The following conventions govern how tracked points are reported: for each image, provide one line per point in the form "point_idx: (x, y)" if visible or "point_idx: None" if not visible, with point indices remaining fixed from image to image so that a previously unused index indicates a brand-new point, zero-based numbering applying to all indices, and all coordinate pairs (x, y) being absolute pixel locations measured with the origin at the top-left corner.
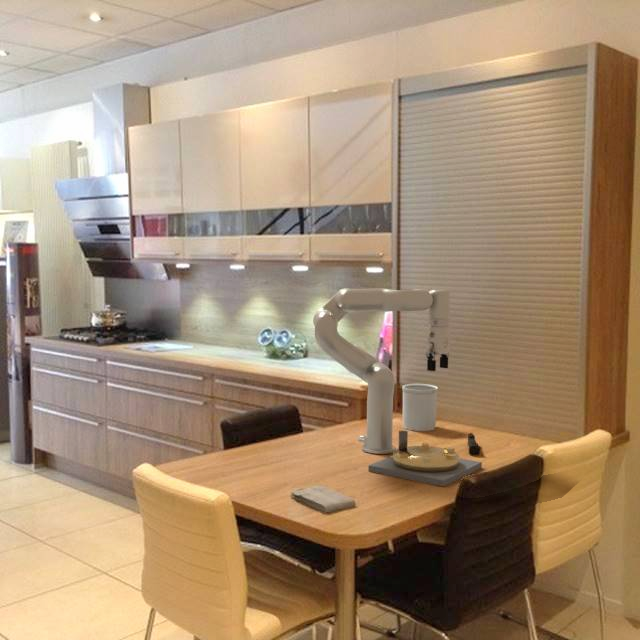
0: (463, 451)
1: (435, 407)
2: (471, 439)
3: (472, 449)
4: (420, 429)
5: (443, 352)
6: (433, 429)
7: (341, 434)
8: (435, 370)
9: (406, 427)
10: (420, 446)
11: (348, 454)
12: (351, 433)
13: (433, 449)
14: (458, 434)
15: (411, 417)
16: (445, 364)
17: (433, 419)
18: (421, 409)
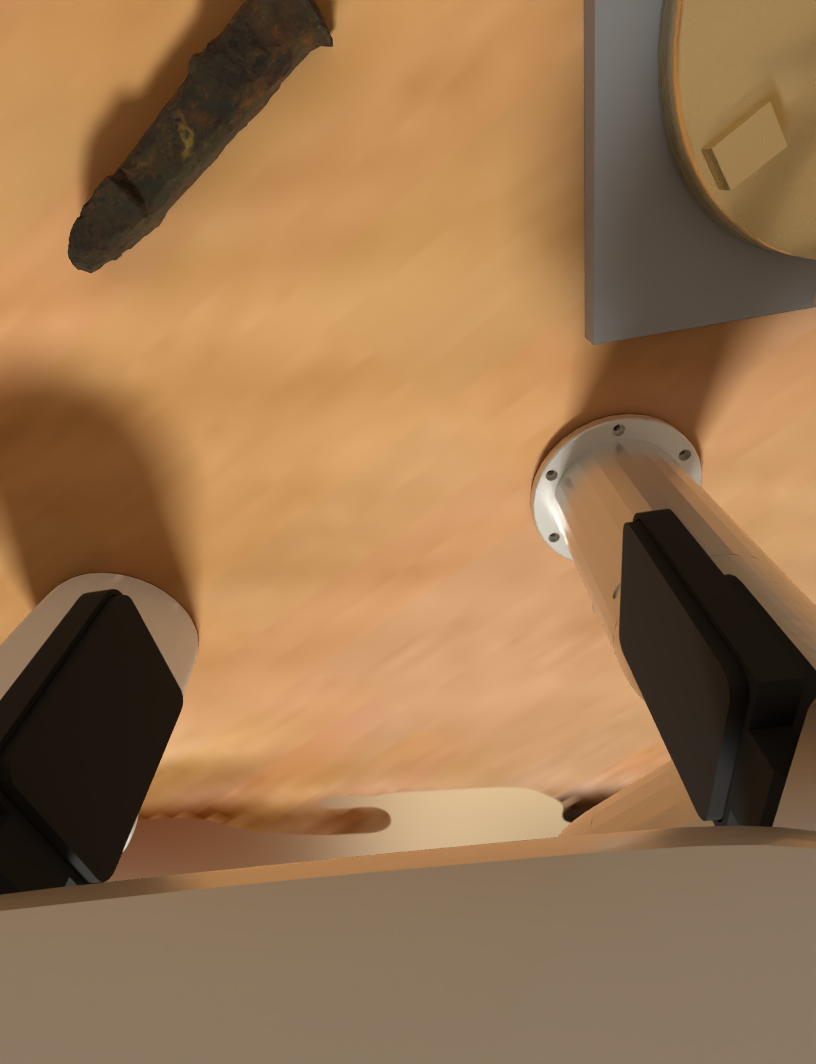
0: (286, 151)
1: (11, 650)
2: (160, 167)
3: (317, 7)
4: (162, 596)
5: (457, 927)
6: (84, 574)
7: (487, 723)
8: (641, 513)
9: (196, 649)
10: (732, 192)
11: (764, 526)
12: (445, 714)
13: (767, 48)
14: (20, 442)
15: (175, 665)
16: (110, 662)
17: (64, 604)
18: None
